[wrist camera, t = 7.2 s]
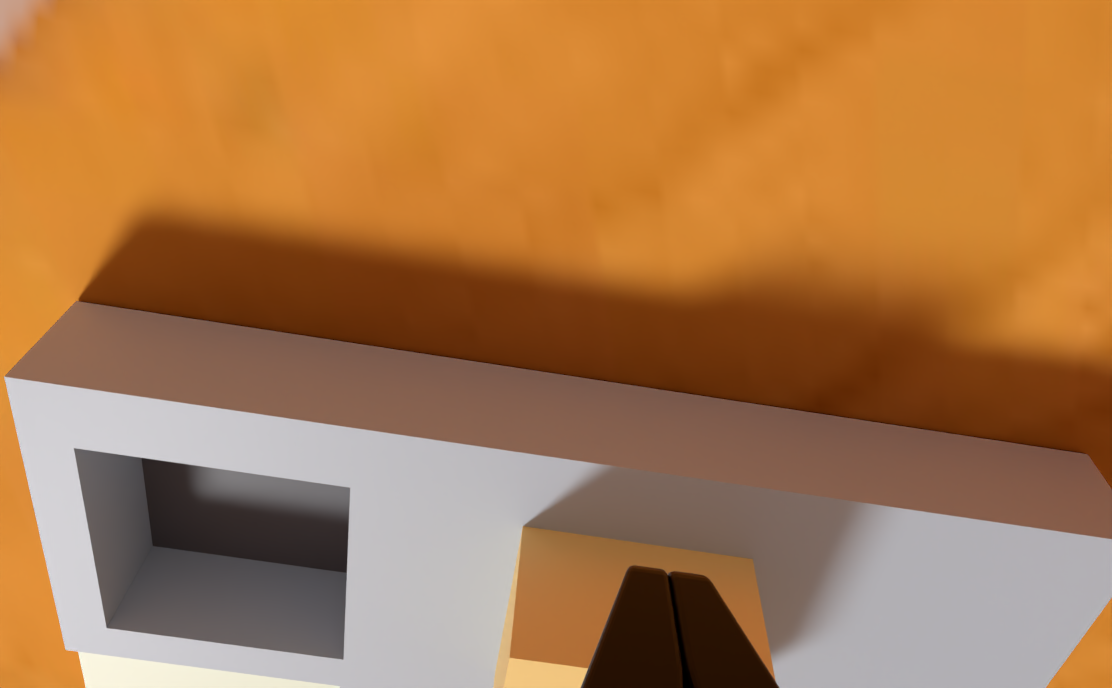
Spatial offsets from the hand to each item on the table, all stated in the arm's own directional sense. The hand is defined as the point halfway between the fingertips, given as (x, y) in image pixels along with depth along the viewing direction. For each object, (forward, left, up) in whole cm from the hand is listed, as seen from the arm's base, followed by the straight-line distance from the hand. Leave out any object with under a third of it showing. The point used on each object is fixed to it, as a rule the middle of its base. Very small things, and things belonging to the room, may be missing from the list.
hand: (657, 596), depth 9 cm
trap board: (0, +11, -9) cm, 14 cm away
